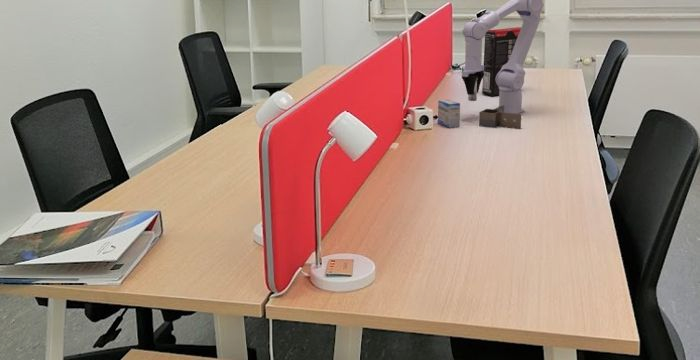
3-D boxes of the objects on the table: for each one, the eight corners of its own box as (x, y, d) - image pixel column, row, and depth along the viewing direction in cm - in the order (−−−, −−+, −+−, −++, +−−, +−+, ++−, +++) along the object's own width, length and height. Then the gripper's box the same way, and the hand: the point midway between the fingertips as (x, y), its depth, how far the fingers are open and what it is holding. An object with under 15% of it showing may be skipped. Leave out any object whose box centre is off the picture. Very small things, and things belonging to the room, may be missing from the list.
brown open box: (486, 122, 275) (486, 108, 274) (523, 126, 268) (524, 112, 266) (479, 125, 270) (479, 112, 269) (516, 130, 263) (517, 116, 261)
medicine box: (437, 123, 275) (437, 100, 272) (448, 122, 277) (448, 98, 274) (449, 128, 268) (449, 104, 266) (459, 126, 270) (460, 102, 267)
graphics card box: (510, 89, 332) (513, 26, 324) (522, 92, 326) (525, 27, 318) (481, 95, 323) (483, 29, 315) (493, 97, 317) (495, 31, 309)
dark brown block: (495, 118, 281) (495, 104, 280) (510, 119, 278) (511, 106, 277) (479, 125, 270) (479, 112, 269) (495, 127, 267) (495, 113, 266)
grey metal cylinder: (470, 98, 281) (470, 76, 279) (479, 99, 279) (479, 77, 277) (465, 100, 278) (466, 77, 276) (474, 101, 277) (475, 78, 274)
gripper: (472, 52, 282) (471, 89, 286) (454, 58, 271) (453, 96, 275) (489, 53, 278) (488, 90, 282) (472, 59, 267) (471, 97, 271)
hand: (472, 93), depth 278 cm, fingers closed on grey metal cylinder, 3 cm apart
